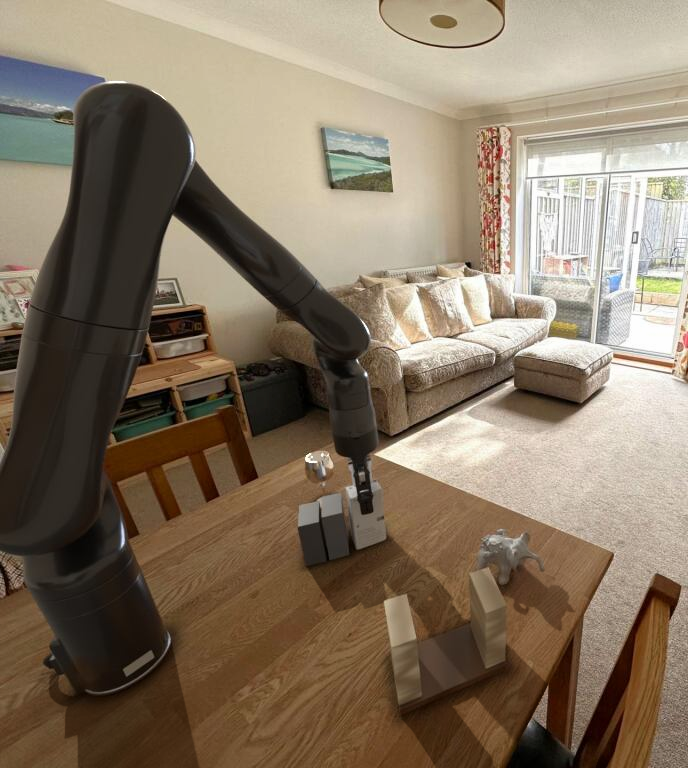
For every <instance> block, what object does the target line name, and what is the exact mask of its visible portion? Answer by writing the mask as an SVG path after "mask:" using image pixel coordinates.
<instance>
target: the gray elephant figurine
mask: <svg viewBox="0 0 688 768" xmlns="http://www.w3.org/2000/svg"><path fill="white" fill-rule="evenodd" d="M480 540H481V541H480V549H479V551H478V554H477V566H476V571H478V570H481V569H485V568H487V566H488V565H489V564H491V563H492V564H493V565H497V566H498V567H499V575H498V577H497V578H498V580H497V581H498V584H499V585H500V586H504V585H507V584H508V582H509V581H510V574H511V572H512V571H511V570H512V569H513V570H516V568H517V566H523V565H524V564H526V562H527V559H532V560H535V561H536V562H537V564H538V566H539V571H540V572H541V573H543V572H544V571H545V566H544V565H543V562H542V559H541V558H540V556H538V555H537V554H535V553H533V552H531V551H530V550H529V548H528V545H529V543H530V540H531V536H530V534H529V533H528V532H523V533H521V535H520V536H519V537H516V538H511V537H509V536H506V530H505V529H502V528H500V529H497V530H496V534H493V535H492V534H489V533H488V534H487V535H485V536H484V537H483V538H482V537H481V538H480Z"/></svg>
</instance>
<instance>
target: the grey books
mask: <svg viewBox="0 0 688 768" xmlns="http://www.w3.org/2000/svg"><path fill="white" fill-rule="evenodd" d="M321 497H322V508H321V507H320V502H319V501H317V500H316V501H317V502H316V501H313V502H308V503H304V504H303V503H302V504H299V505H298V514H297V525H296V528H297V530H298V537H299V541H300V546H301V549H302V555H303V559H304V564H305V567H309V566H314V565H318V564H321V563H324V562H327V559H329V561H332V560H336V559H340V558H343V557H346V556H350V546H349V545H350V544H349V543H350V542H349V531H348V526H347V520H346V514H345V509H344V501H343V495H342V492H338V493H333V494H328V496H327V495H326V496H324V495H323V496H321ZM327 553H328V554H327ZM327 555H328V558H327Z"/></svg>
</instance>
